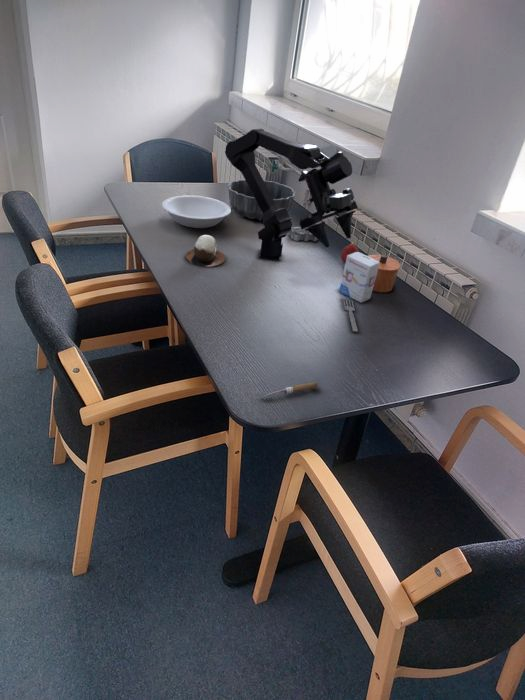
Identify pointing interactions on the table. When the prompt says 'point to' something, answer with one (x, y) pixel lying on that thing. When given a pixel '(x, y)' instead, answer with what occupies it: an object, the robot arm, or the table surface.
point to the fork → (351, 314)
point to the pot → (384, 281)
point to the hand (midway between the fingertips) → (338, 242)
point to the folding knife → (292, 389)
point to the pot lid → (386, 262)
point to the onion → (348, 251)
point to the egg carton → (301, 234)
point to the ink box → (359, 276)
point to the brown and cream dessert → (205, 252)
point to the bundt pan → (247, 203)
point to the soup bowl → (196, 210)
